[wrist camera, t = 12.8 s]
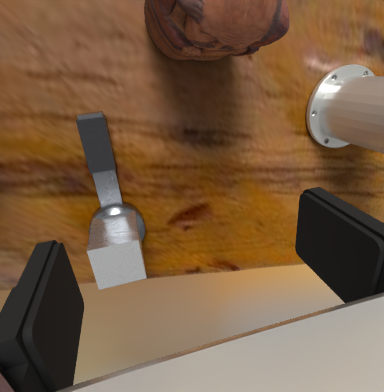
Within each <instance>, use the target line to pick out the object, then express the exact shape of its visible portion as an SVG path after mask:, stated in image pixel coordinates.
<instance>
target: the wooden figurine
mask: <svg viewBox="0 0 384 392" xmlns="http://www.w3.org/2000/svg"><path fill="white" fill-rule="evenodd" d="M144 14H145V20H146V24H147V27H148V30H149V32H150V35H151V37H152V39H153V41H154V42H155V44H156V45H157V47H158V48H159V49H160V50H161V51H162V52H163V53H164V54H165V55H166V56H168V57H170V58H172V59H174V60H189V59H191V60H195V61H202V60H205V61H206V60H209V61H215V60H220V59H221V58H223V57H225V56H227V55H229V54H231V55H233V56H243V55H250V54H253V53H255V52H256V51H258V50H259V47H261V46H265V45H268V44H271V43H273V42H275V41H277V40H279V39H280V38H281V37H283V36H284V35H285V34H286V33H287V31H288V28H289V14H288V8H287V4H286V0H145V6H144Z"/></svg>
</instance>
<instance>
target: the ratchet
mask: <svg viewBox="0 0 384 392" xmlns="http://www.w3.org/2000/svg"><path fill="white" fill-rule="evenodd" d="M77 118H78V119H77V120H76V123H77V126H78V130H79V134H80V138H81V141H82V145H83V149H84V152H85V156H86V160H87V164H88V167H89V171H90V174H93V178H94V182H95V186H96V189H97V193H98V197H99V201H100V205H101V207H99V208H98V209H97V210H96V211H95V213H94V214H93V216H92V219H93V218H98V217H104V216H109V215H114V214H119V213H125V212H130V211H135V214H136V218H137V223H138V228H139V233H140V238H141V242H142V240H143V238H144V234H145V227H144V221H143V217H142V214H141V213H140V211H139V210H138V209H137V208H136V207H135V206H133V205H132V204H130V203H127V202H123V200H122V196H121V192H120V187H119V183H118V178H117V174H116V163H115V158H114V154H113V149H112V145H111V140H110V136H109V131H108V127H107V122H106V118H105V115H103V111H100V112H92V113H84V114H78V115H77ZM92 219H91V223H90V229H89V235H90V231H91V225H92Z"/></svg>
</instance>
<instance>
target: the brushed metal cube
mask: <svg viewBox="0 0 384 392" xmlns="http://www.w3.org/2000/svg"><path fill="white" fill-rule="evenodd" d="M87 253H88V256H89V259H90V262H91V266H92V269H93V272H94V275H95V278H96V282H97V285H98V288H99V290H100V289H104V288H108V287H113V286H117V285H121V284H125V283H129V282H133V281H138V280H142V279H146V271H145V264H144V256H143V249H142V243H141V238H140V233H139V228H138V223H137V218H136V214H135V211H130V212H125V213H119V214H114V215H109V216H104V217H98V218H93V219H92V225H91V231H90V236H89V242H88V248H87Z"/></svg>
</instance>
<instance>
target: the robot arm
mask: <svg viewBox="0 0 384 392" xmlns="http://www.w3.org/2000/svg"><path fill="white" fill-rule="evenodd" d="M306 120H307V127H308V130H309V132H310V135H311V136H312V137H313V139H314V140H315V141H316V142H318V143H319V144H321V145H323V146H326V147H330V148H339V147H344V146H346V145H349V144H354V145H357V146H360V147H363V148H367V149H370V150H373V151H377V152H380V153H383V154H384V76H375V75H374V74H373V73H372V72H371V70H370V69H368V68H366V67H365V66H361V65H343V66H340V67H338V68H336V69H334V70H332V71H330V72H329V73H328V74H327V75H326V76H324V77H323V78H322V80H321V81H320V82H319V83H318V84H317V86H316V88H315V89H314V91H313V93H312V95H311V97H310V99H309V103H308V106H307V113H306ZM295 249H296V253H297V254H298V256H299V257H300V258H301V259H302V260H303V261H304V262H305V263H306V264H307V265H308V266H309V267H310V268H311V269H312V270H313V271H314V272H315V273H316V274H317V275H318V276H319V277H320V278H321V279H322V280H323V281H324V282H325V283H326V284H327V285H328V286H329V287H330V288H331V289H332V290H333V291H334V292H335V293H336V294H337V295H338V296H339V297H340V298H341V299H342V300H343V301H344V302H345V304H342V305H339V306H335V307H331V308H328V309H325V310H321V311H318V312H314V313H310V314H307V315H304V316H300V317H297V318H293V319H290V320H287V321H283V322H280V323H276V324H273V325H270V326H266V327H263V328H259V329H256V330H252V331H249V332H246V333H242V334H239V335H235V336H232V337H229V338H226V339H222V340H219V341H215V342H212V343H209V344H205V345H202V346H198V347H195V348H192V349H188V350H185V351H182V352H178V353H175V354H172V355H168V356H165V357H162V358H158V359H155V360H152V361H148V362H145V363H142V364H139V365H135V366H132V367H129V368H126V369H123V370H120V371H116V372H113V373H110V374H107V375H104V376H101V377H98V378H95V379H91V380H88V381H85V382H82V383H79V384H76V385H73V381H74V374H75V367H76V360H77V353H78V346H79V339H80V333H81V325H82V318H83V312H84V302H83V298H82V295H81V292H80V290H79V287H78V284H77V281H76V278H75V275H74V272H73V270H72V267H71V264H70V261H69V258H68V256H67V253H66V250H65V247H64V245H63V243H57V241H55V240H53V241H48V242H43V243H38V244H37V245H36V246H35V248H34V250H33V252H32V255H31V257H30V259H29V261H28V263H27V265H26V267H25V269H24V271H23V273H22V276H21V278H20V280H19V282H18V284H17V286H16V287H14V288H13V289H12V290H11V292H10V294H9V296H8V298H7V300H6V302H5V304H4V306H3V308H2V310H1V312H0V392H384V223H382V222H380V221H379V220H377V219H375V218H373V217H372V216H370V215H368V214H366V213H365V212H363V211H361V210H359V209H357V208H356V207H354V206H352V205H350V204H349V203H347V202H345V201H343V200H341V199H340V198H338V197H336V196H334V195H333V194H331V193H329V192H327V191H326V190H324V189H322V188H320V187H316V188H311V189H306V190H304V192H303V194H301V195H300V199H299V211H298V222H297V234H296V245H295Z"/></svg>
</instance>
